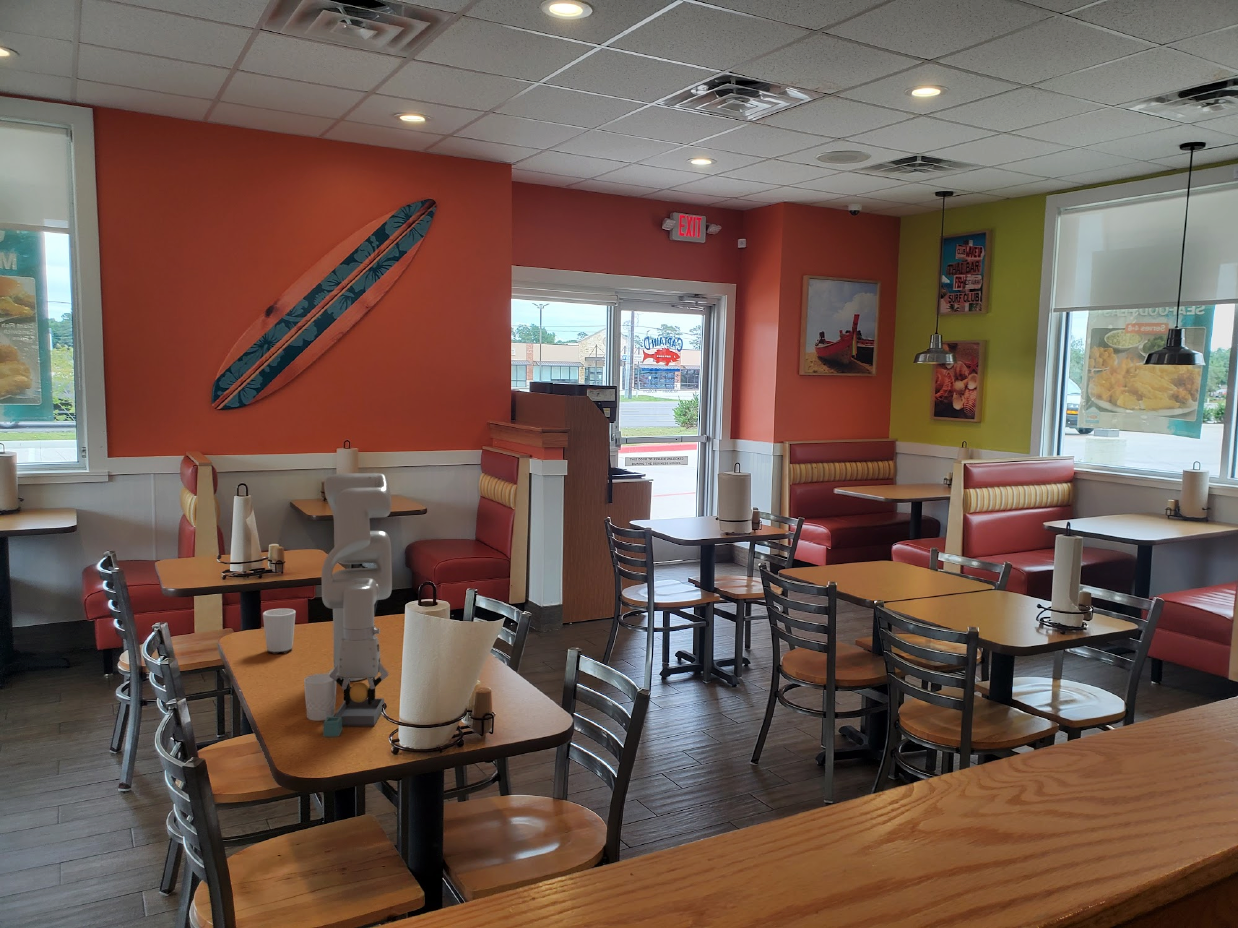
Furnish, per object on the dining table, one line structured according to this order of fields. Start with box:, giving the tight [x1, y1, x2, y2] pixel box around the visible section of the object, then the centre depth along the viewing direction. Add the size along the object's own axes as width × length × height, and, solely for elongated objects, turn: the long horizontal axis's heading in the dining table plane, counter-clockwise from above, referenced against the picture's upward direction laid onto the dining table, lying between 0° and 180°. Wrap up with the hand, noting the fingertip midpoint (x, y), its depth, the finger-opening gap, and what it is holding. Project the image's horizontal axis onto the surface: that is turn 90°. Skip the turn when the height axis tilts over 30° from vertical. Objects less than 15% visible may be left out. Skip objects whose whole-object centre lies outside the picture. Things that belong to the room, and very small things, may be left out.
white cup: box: [303, 673, 337, 722], centre depth 226 cm, size 8×8×10 cm
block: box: [322, 717, 343, 738], centre depth 215 cm, size 4×4×4 cm
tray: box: [333, 697, 385, 728], centre depth 226 cm, size 13×10×3 cm
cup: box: [262, 608, 297, 655], centre depth 281 cm, size 10×10×13 cm
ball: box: [349, 681, 369, 703], centre depth 225 cm, size 5×5×5 cm
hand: (359, 702), depth 225 cm, fingers closed on ball, 4 cm apart
